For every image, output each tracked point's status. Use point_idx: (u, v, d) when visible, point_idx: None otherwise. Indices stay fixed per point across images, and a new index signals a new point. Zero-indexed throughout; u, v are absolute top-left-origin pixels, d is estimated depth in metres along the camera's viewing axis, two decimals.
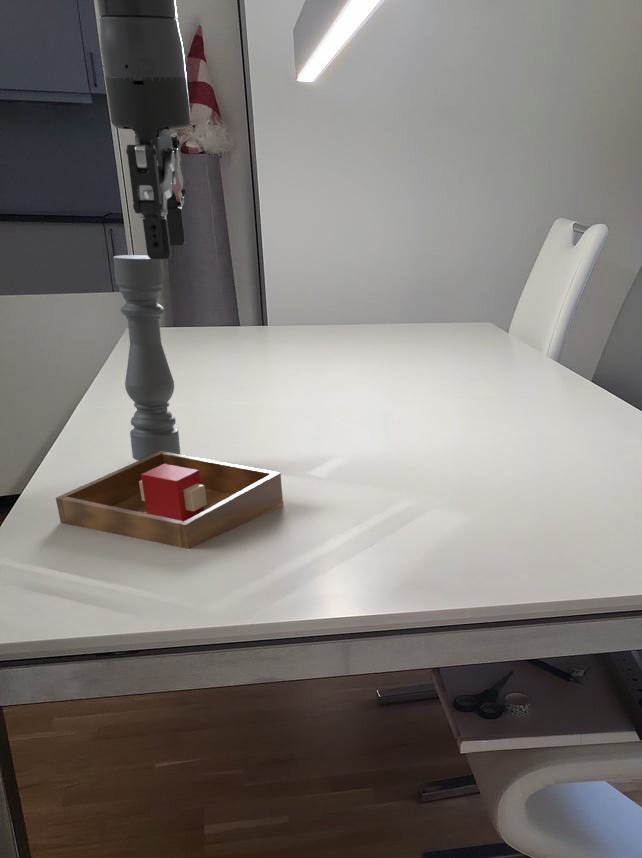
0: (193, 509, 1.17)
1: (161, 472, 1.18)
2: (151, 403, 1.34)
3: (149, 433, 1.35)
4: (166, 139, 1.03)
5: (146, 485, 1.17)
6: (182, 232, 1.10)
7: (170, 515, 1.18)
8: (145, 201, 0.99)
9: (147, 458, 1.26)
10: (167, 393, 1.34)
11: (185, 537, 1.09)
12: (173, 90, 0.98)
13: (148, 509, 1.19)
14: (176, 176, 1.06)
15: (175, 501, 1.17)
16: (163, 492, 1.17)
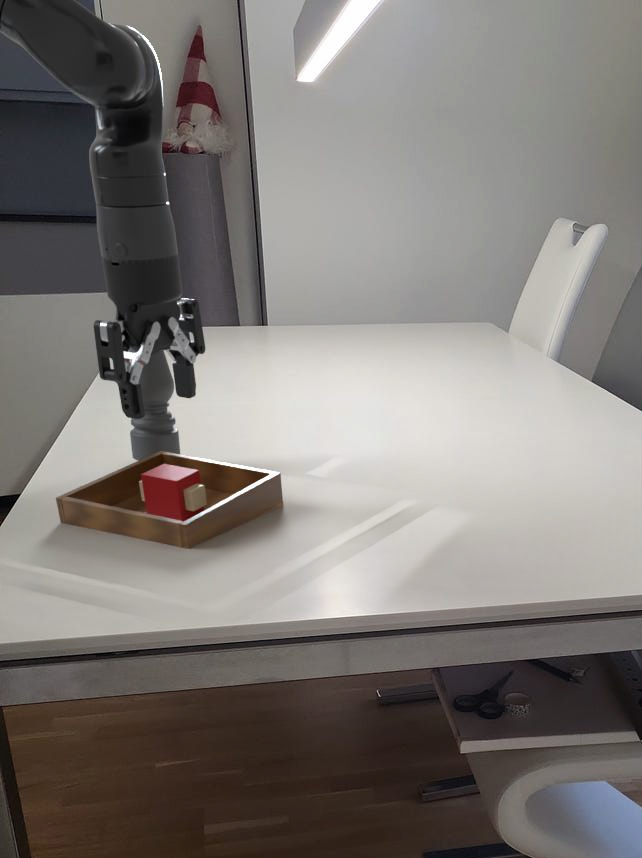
0: (193, 509, 1.17)
1: (161, 472, 1.18)
2: (151, 403, 1.34)
3: (149, 433, 1.35)
4: (160, 309, 1.09)
5: (146, 485, 1.17)
6: (190, 387, 1.16)
7: (170, 515, 1.18)
8: (109, 370, 1.06)
9: (147, 458, 1.26)
10: (167, 393, 1.34)
11: (185, 537, 1.09)
12: (148, 271, 1.04)
13: (148, 509, 1.19)
14: (175, 340, 1.12)
15: (175, 501, 1.17)
16: (163, 492, 1.17)
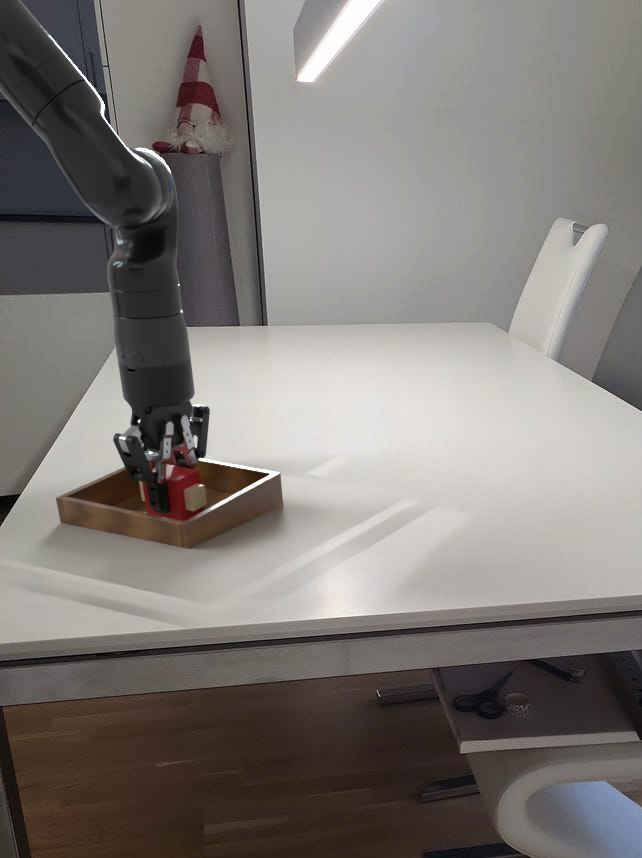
0: (193, 509, 1.17)
1: None
2: None
3: None
4: (173, 408, 1.14)
5: None
6: None
7: (170, 515, 1.18)
8: (138, 472, 1.13)
9: None
10: None
11: (185, 537, 1.09)
12: (162, 376, 1.09)
13: (148, 509, 1.19)
14: (182, 439, 1.16)
15: (175, 501, 1.17)
16: None
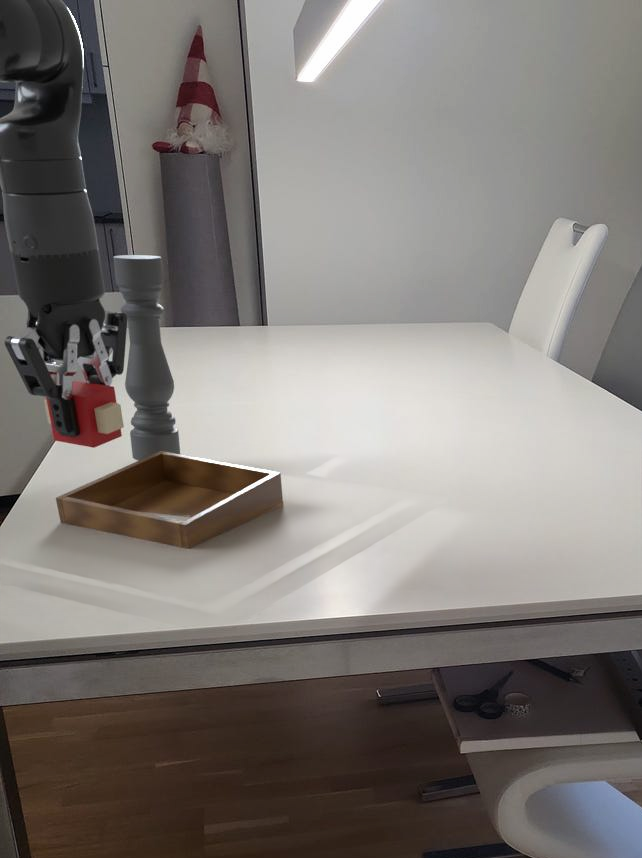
0: (106, 431, 1.00)
1: None
2: (151, 403, 1.34)
3: (149, 433, 1.35)
4: (79, 310, 0.97)
5: None
6: None
7: (80, 439, 1.01)
8: (38, 384, 0.96)
9: (147, 458, 1.26)
10: (167, 393, 1.34)
11: (185, 537, 1.09)
12: (62, 267, 0.92)
13: (55, 432, 1.02)
14: (93, 348, 0.99)
15: (85, 422, 0.99)
16: None
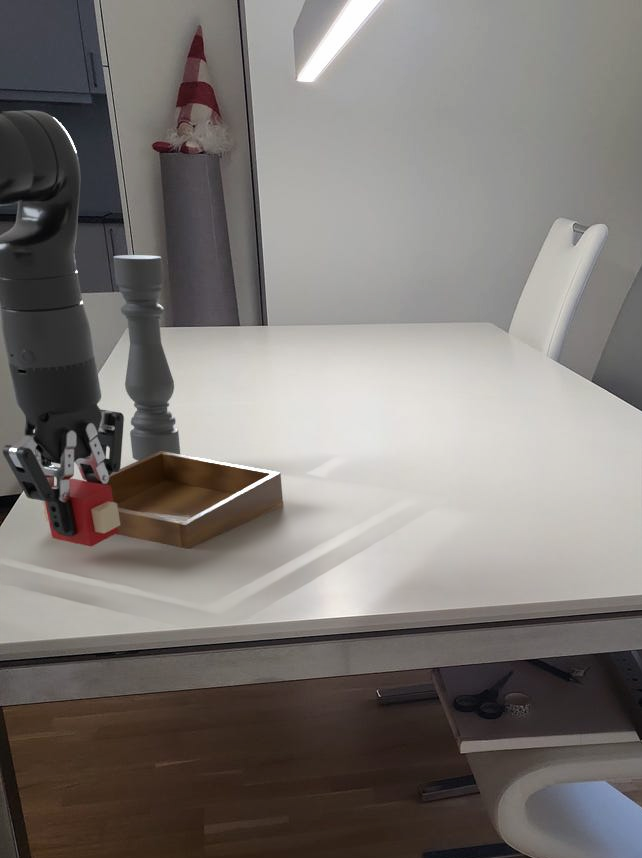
0: (103, 531, 1.02)
1: None
2: (151, 403, 1.34)
3: (149, 433, 1.35)
4: (76, 415, 0.99)
5: None
6: None
7: (78, 538, 1.02)
8: (36, 489, 0.98)
9: (147, 458, 1.26)
10: (167, 393, 1.34)
11: (185, 537, 1.09)
12: (59, 378, 0.94)
13: (53, 531, 1.03)
14: (89, 450, 1.01)
15: (82, 522, 1.01)
16: None
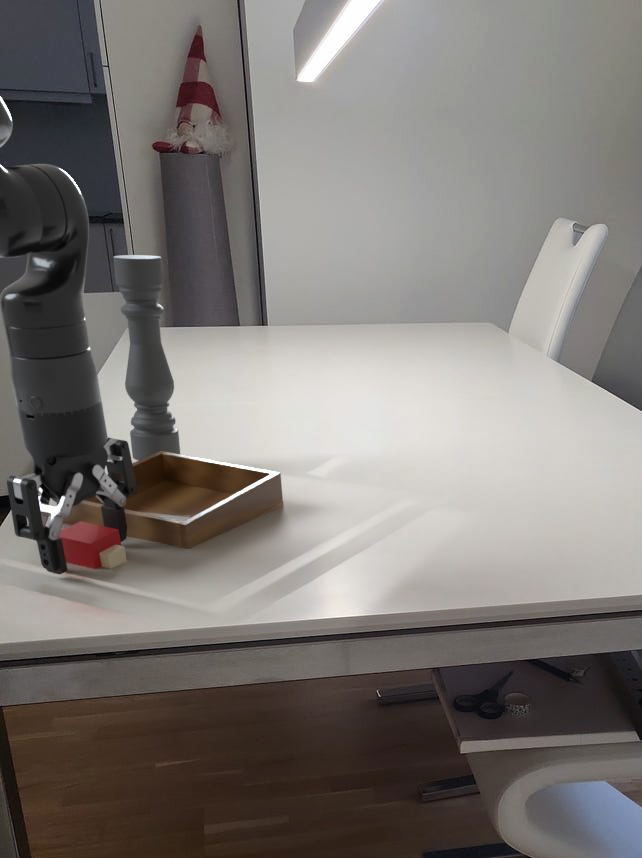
0: None
1: (75, 532, 1.04)
2: (151, 403, 1.34)
3: (149, 433, 1.35)
4: (83, 456, 1.01)
5: None
6: (120, 531, 1.08)
7: None
8: (25, 528, 0.98)
9: (147, 458, 1.26)
10: (167, 393, 1.34)
11: (185, 537, 1.09)
12: (66, 423, 0.96)
13: None
14: (101, 486, 1.03)
15: (90, 566, 1.03)
16: (77, 556, 1.04)
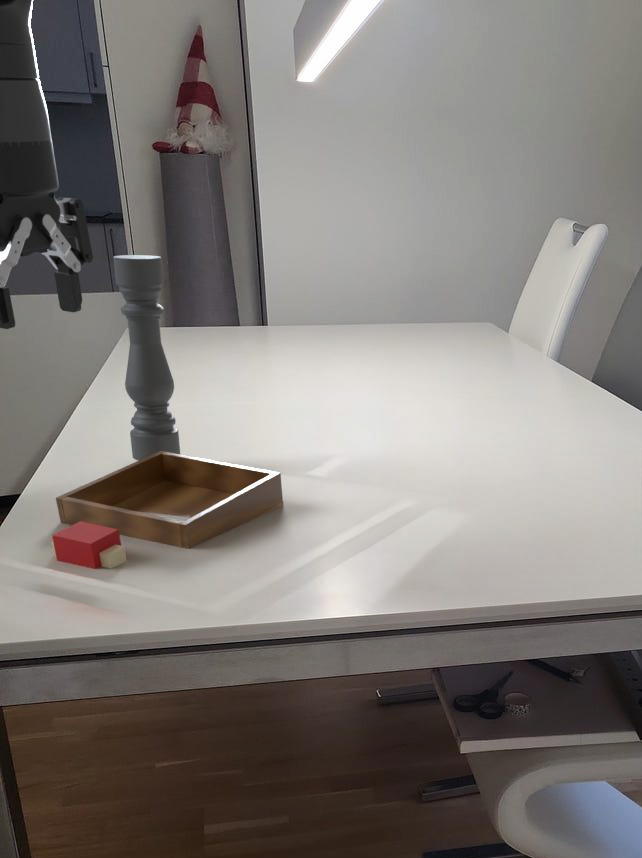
0: None
1: (75, 532, 1.04)
2: (151, 403, 1.34)
3: (149, 433, 1.35)
4: (33, 204, 0.97)
5: (58, 547, 1.04)
6: (74, 299, 1.04)
7: None
8: None
9: (147, 458, 1.26)
10: (167, 393, 1.34)
11: (185, 537, 1.09)
12: (13, 155, 0.92)
13: None
14: (53, 242, 0.99)
15: (90, 566, 1.03)
16: (77, 556, 1.04)
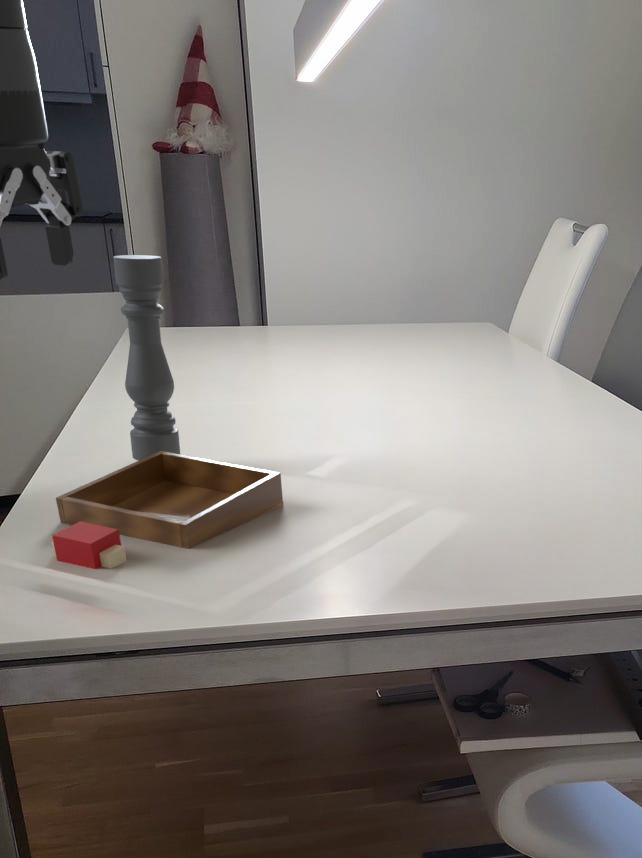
0: None
1: (75, 532, 1.04)
2: (151, 403, 1.34)
3: (149, 433, 1.35)
4: (23, 155, 0.98)
5: (58, 547, 1.04)
6: (65, 252, 1.05)
7: None
8: None
9: (147, 458, 1.26)
10: (167, 393, 1.34)
11: (185, 537, 1.09)
12: (2, 104, 0.93)
13: None
14: (43, 194, 1.01)
15: (90, 566, 1.03)
16: (77, 556, 1.04)
